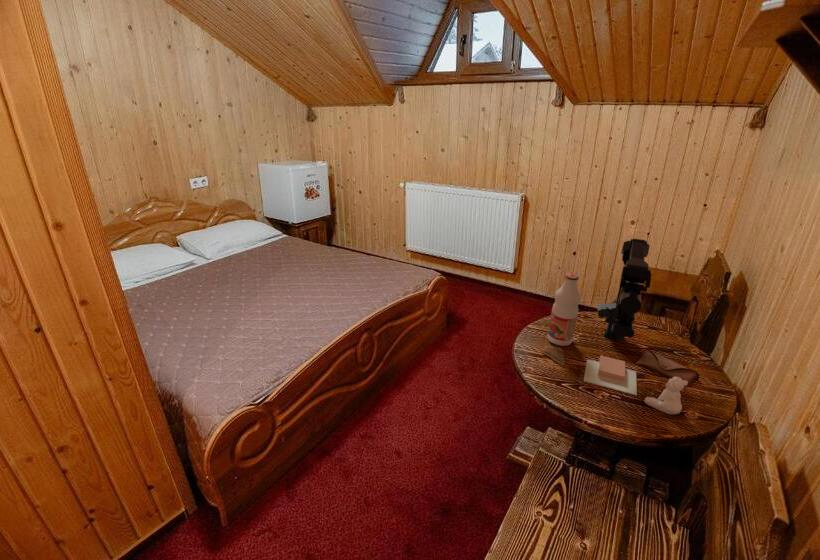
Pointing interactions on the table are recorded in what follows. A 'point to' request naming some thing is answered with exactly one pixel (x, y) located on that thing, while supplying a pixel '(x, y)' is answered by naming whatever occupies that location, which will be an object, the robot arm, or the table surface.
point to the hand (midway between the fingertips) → (617, 341)
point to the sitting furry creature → (669, 397)
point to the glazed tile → (611, 369)
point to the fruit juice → (564, 312)
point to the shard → (555, 354)
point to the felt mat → (625, 387)
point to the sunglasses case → (667, 367)
